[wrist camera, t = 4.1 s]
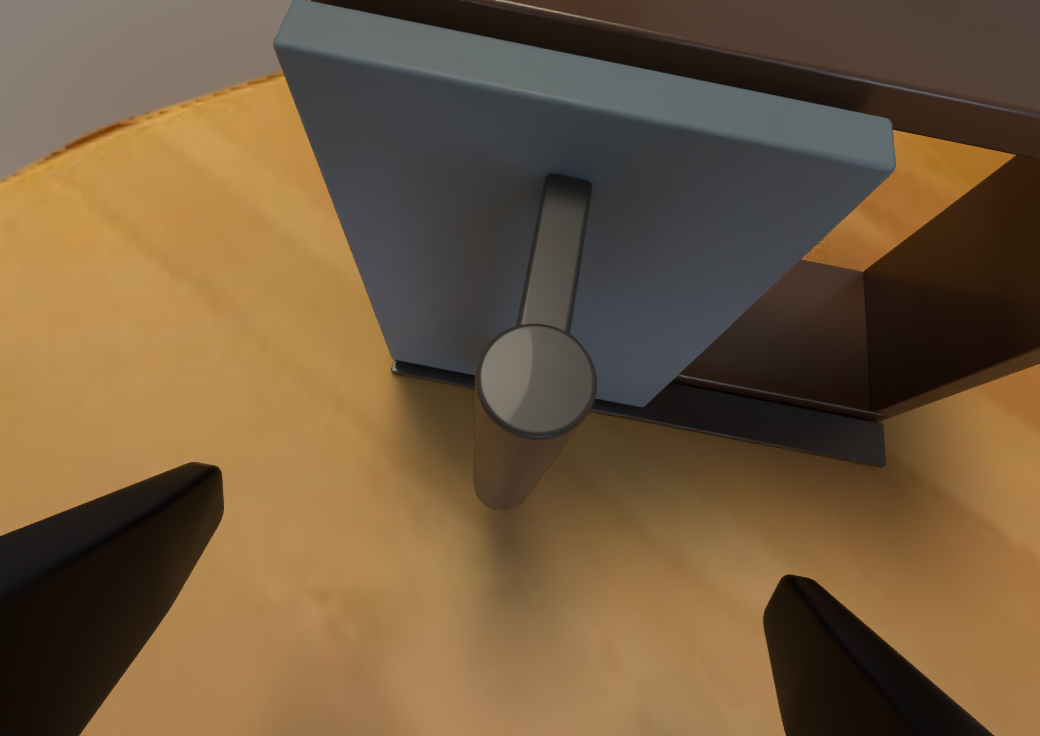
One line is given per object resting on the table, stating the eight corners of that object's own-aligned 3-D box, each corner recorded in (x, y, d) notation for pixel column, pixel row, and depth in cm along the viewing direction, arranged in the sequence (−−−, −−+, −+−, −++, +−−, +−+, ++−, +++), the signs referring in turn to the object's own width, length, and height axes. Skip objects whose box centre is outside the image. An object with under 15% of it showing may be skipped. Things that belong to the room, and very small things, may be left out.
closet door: (630, 543, 17) (932, 497, 6) (354, 491, 17) (125, 342, 6) (646, 382, 19) (894, 116, 8) (398, 334, 19) (292, -6, 8)
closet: (880, 468, 20) (1543, 303, 7) (391, 373, 19) (256, 44, 7) (868, 284, 22) (1339, -54, 10) (440, 199, 22) (400, -252, 10)
